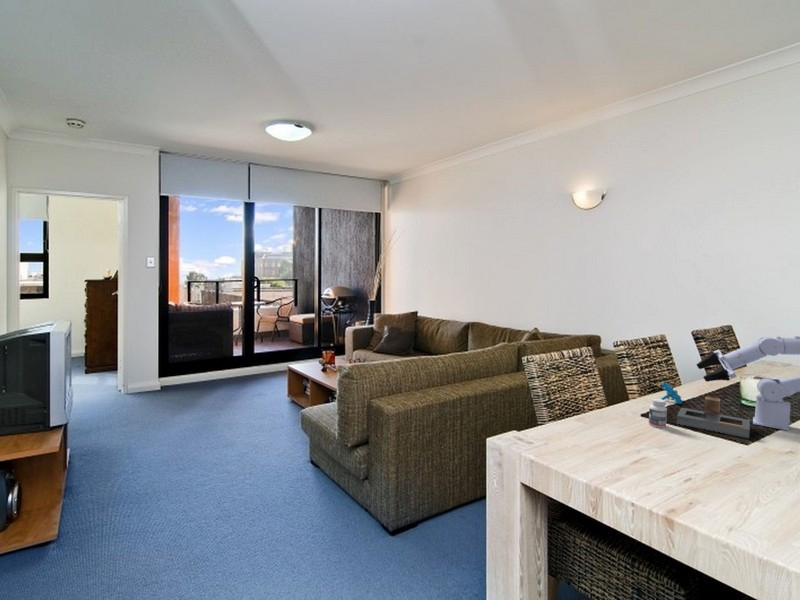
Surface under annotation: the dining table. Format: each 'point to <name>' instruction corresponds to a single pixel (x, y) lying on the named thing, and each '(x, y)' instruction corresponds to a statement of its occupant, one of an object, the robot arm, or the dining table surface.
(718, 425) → the rail block
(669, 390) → the gear
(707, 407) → the walnut block
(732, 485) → the dining table surface
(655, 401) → the pill bottle
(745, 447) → the dining table surface
